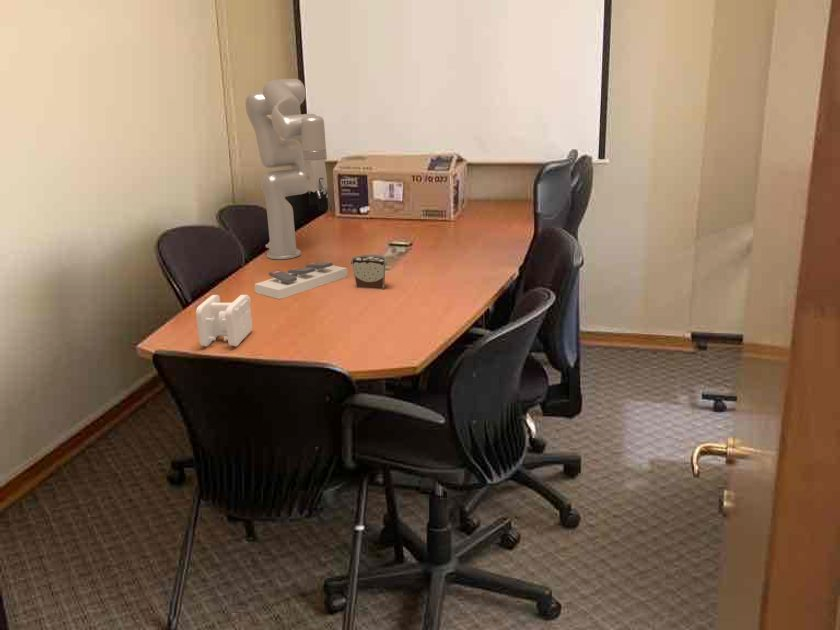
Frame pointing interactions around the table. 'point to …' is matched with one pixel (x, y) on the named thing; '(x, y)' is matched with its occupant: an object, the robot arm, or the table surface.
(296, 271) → the rocker
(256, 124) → the robot arm
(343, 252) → the table surface
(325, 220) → the table surface
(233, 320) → the cable organizer
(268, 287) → the rocker switch panel
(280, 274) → the rocker
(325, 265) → the rocker
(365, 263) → the food container
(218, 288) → the table surface
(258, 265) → the table surface
